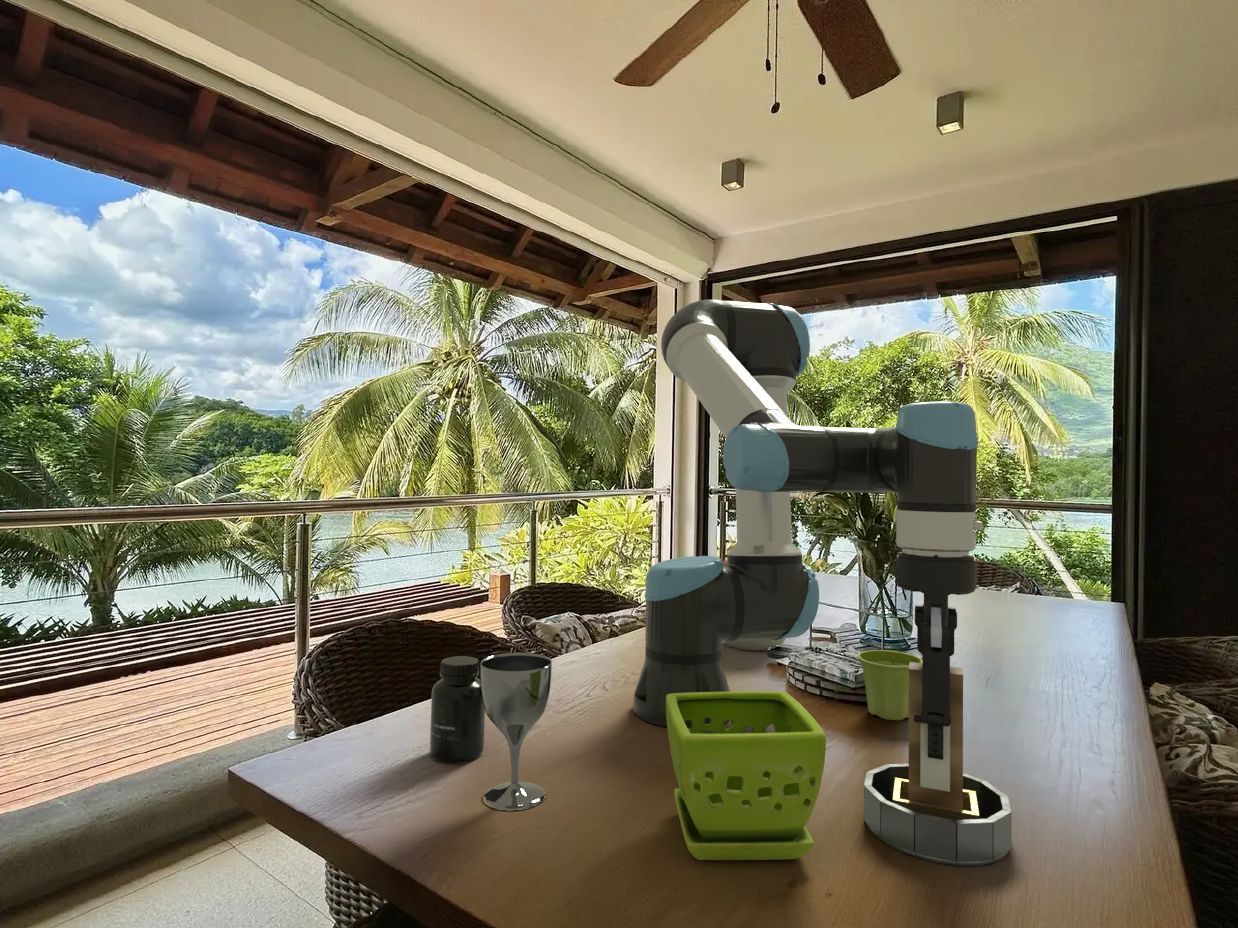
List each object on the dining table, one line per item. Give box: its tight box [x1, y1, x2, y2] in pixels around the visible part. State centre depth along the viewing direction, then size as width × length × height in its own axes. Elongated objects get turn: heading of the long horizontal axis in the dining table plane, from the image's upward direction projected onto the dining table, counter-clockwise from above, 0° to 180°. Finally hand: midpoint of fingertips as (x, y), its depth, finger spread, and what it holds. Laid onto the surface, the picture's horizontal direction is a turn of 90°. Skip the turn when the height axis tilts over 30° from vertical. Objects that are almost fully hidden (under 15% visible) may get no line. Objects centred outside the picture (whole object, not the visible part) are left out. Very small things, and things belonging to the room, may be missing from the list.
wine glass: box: [479, 652, 553, 812], centre depth 78 cm, size 8×8×15 cm
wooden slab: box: [908, 662, 964, 810], centre depth 72 cm, size 5×3×15 cm, turn 66°
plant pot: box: [857, 649, 922, 721], centre depth 107 cm, size 9×9×9 cm
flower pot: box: [666, 690, 827, 861], centre depth 70 cm, size 14×14×13 cm
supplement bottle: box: [429, 655, 486, 764], centre depth 90 cm, size 7×7×12 cm
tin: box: [863, 763, 1012, 867], centre depth 72 cm, size 14×14×4 cm
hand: (934, 779), depth 72 cm, fingers closed on wooden slab, 3 cm apart
